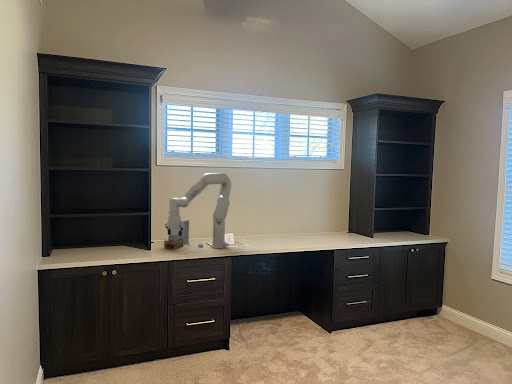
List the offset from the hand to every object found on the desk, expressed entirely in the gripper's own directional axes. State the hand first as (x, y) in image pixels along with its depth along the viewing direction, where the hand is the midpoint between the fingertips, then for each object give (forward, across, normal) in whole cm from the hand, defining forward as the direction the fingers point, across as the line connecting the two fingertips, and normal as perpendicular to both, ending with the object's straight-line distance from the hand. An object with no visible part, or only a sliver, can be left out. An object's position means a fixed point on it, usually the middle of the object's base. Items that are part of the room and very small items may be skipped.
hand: (174, 235), depth 301 cm
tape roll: (+10, +17, +10) cm, 23 cm away
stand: (+10, -1, 0) cm, 10 cm away
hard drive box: (+10, -6, +16) cm, 20 cm away
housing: (+5, 0, 0) cm, 5 cm away
